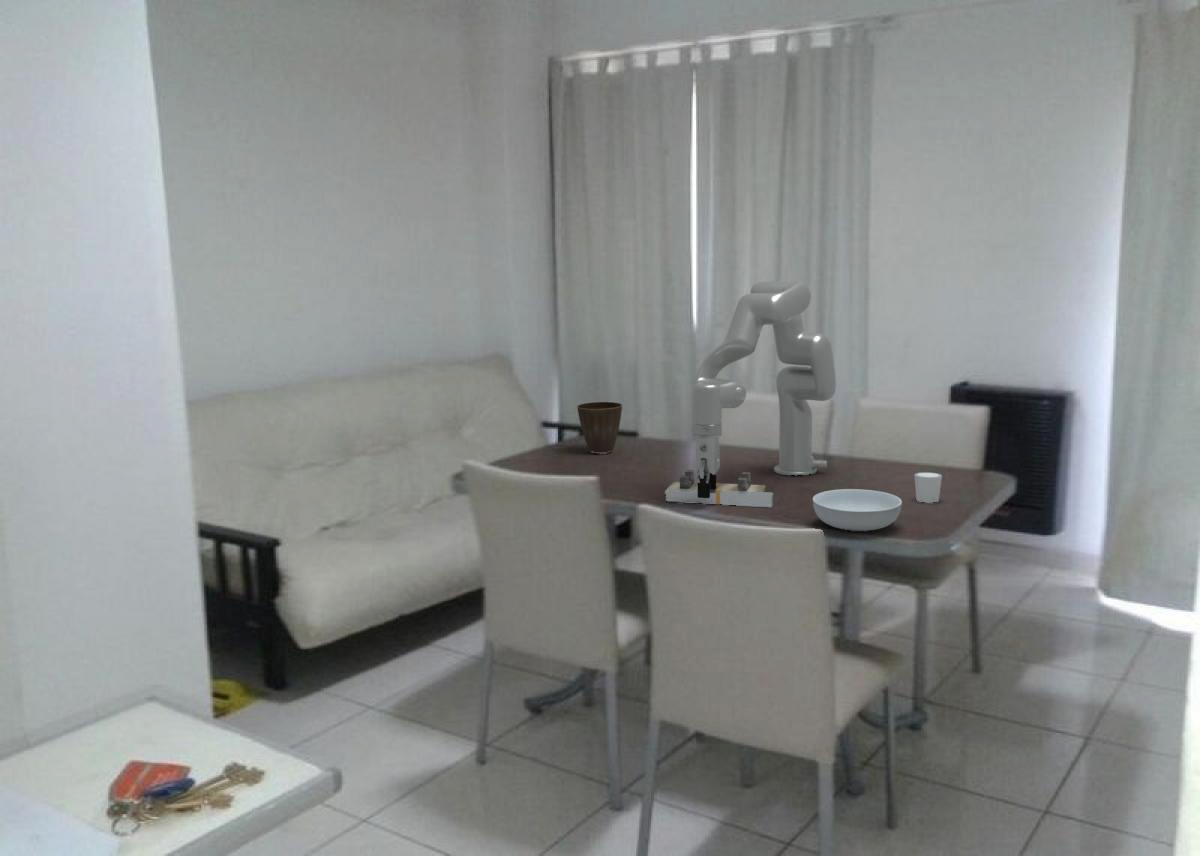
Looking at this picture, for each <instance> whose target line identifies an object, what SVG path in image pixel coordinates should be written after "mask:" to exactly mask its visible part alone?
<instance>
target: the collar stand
mask: <svg viewBox="0 0 1200 856" xmlns="http://www.w3.org/2000/svg"><path fill="white" fill-rule="evenodd" d="M694 477H695V472H694V469H686V470H685V471H684V475H681V476H680V477H679V481H673V482H672V483H671V484H670V485H669V486H668V487H667V488H666V490H667V489H668V488H672V489H697V490H698V482H694V481H695V479H694ZM666 490H665V491H664V495H665V494H666ZM716 490H722V491H747V492H766V484H751V471H743V472H742V473H741V477H738V479H737V483H720V482H716Z"/></svg>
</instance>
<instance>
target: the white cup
mask: <svg viewBox="0 0 1200 856" xmlns="http://www.w3.org/2000/svg"><path fill="white" fill-rule="evenodd" d="M942 479H943V476H942V474H940V473H937V472H926V471H924V472H923V471H922V472H916V473H914V485H915V486H914V487H915V500H917V501H916V502H918V501H919V502H918V503H921V502H925V503H924V504H934V503H933V502H937V503H939V500H940V495H941V494H940V493H941V487H942V486H941V485H942Z"/></svg>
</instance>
